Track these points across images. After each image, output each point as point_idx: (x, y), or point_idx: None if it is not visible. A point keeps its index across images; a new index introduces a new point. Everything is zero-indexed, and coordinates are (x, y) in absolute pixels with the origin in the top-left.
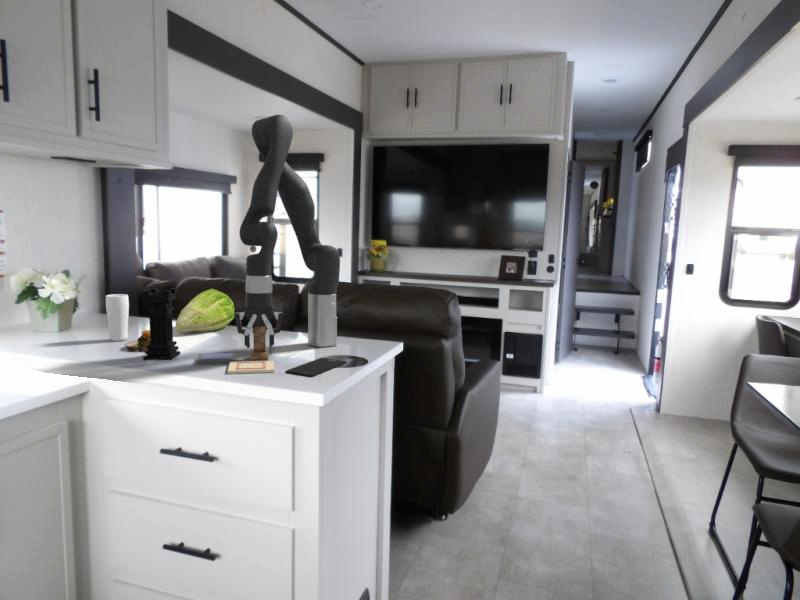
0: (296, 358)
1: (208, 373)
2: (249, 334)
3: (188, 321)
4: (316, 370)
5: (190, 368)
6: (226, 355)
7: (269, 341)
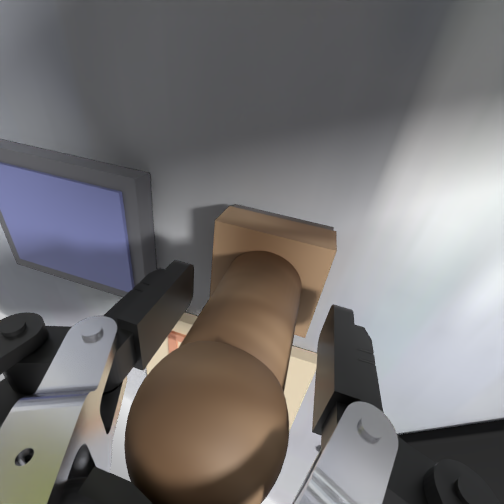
0: (487, 327)
1: None
2: (136, 328)
3: None
4: None
5: (36, 290)
6: (100, 235)
7: (316, 378)
